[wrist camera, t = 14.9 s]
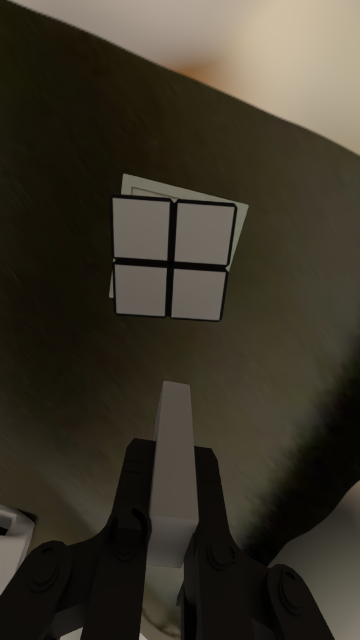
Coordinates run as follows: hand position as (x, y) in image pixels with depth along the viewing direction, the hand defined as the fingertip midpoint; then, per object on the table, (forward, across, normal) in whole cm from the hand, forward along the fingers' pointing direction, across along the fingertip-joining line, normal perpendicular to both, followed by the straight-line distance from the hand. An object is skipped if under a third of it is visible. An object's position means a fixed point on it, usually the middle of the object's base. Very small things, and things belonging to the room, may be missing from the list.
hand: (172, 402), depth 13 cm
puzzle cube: (+19, -1, +6) cm, 20 cm away
